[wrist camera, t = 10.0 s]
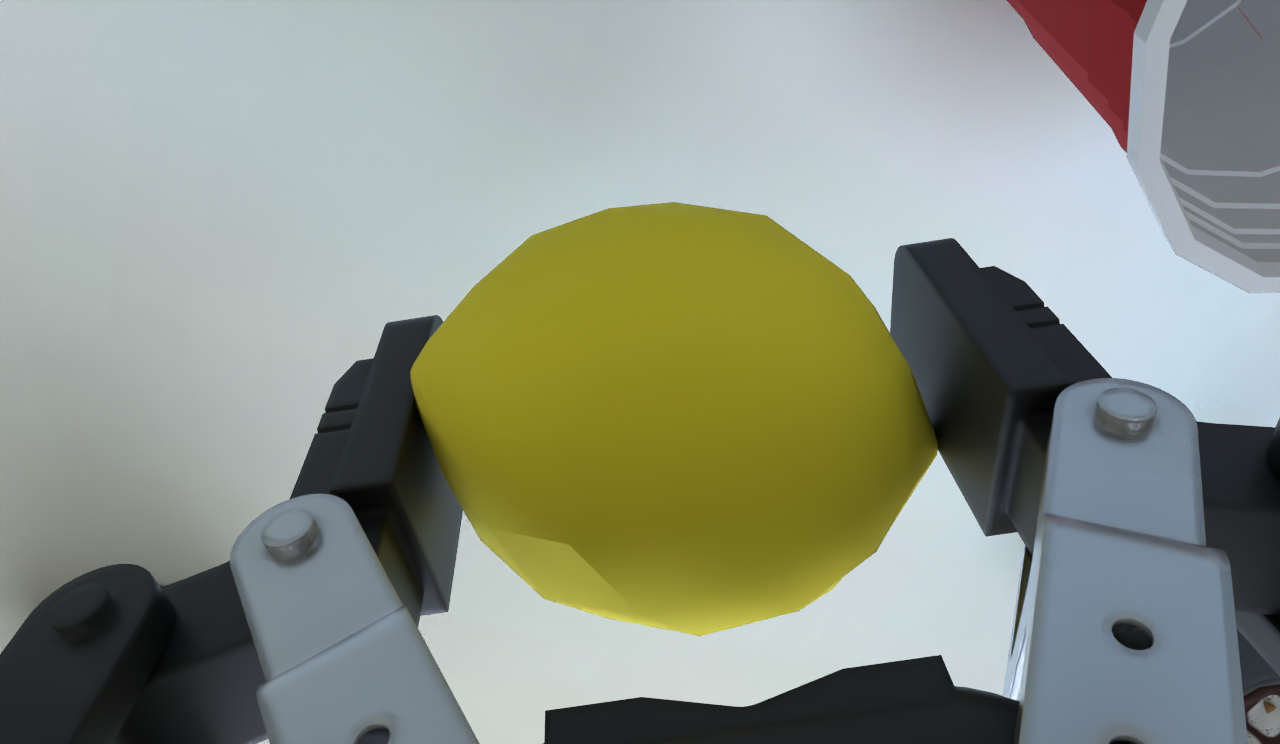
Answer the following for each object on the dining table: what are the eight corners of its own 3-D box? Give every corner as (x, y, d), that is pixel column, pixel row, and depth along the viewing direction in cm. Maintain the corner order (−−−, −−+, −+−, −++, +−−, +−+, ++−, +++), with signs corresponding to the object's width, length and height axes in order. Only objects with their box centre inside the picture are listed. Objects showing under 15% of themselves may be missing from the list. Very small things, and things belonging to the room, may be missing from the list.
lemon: (419, 406, 14) (349, 702, 9) (462, 84, 11) (390, 296, 6) (809, 465, 15) (909, 746, 11) (943, 195, 12) (1156, 430, 8)
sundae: (996, 554, 37) (1207, 936, 25) (1105, 449, 33) (1410, 832, 21) (1103, 589, 39) (1346, 958, 27) (1216, 494, 35) (1552, 867, 23)
